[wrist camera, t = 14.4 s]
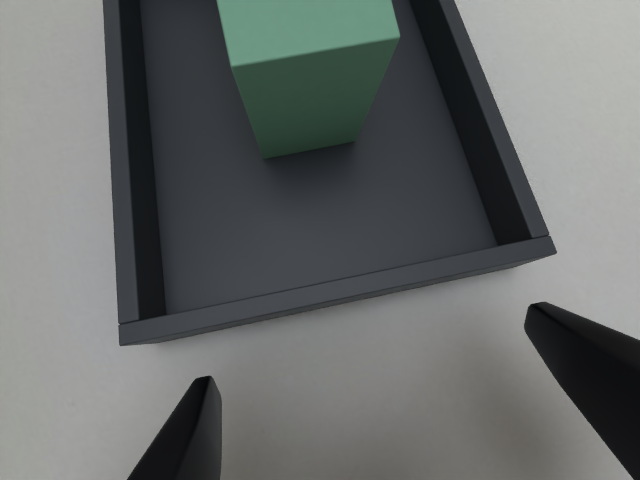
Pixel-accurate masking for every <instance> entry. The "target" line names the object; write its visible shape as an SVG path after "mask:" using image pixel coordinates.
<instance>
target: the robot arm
mask: <svg viewBox="0 0 640 480" xmlns="http://www.w3.org/2000/svg"><path fill="white" fill-rule="evenodd" d="M524 329H525V332H526V334H527V336H528V337H529V339H530V340H531V342H532V343H533V345H534V347H535V348H536V350H537V351H538V353H539V354H540V356H541V357H542V359H543V361H544V362H545V364H546V365H547V367H548V368H549V370H550V371H551V373H552V375H553V376H554V377H555V379H556V380H557V382H558V383H559V385H560V386H561V387H562V389H563V390H564V391H565V392H566V394H567V395H568V396H569V398H570V399H571V400H572V401H573V403H574V404H575V405H576V407H577V408H578V409H579V410H580V412H581V413H582V414H583V415H584V417H585V418H586V419H587V421H588V422H589V423H590V424H591V426H592V427H593V428H594V429H595V431H596V432H597V433H598V435H599V436H600V437H601V438H602V440H603V441H604V442H605V444H606V445H607V446H608V447H609V449H610V450H611V451H612V452H613V454H614V455H615V456H616V458H617V459H618V460H619V461H620V463H621V464H622V465H623V466H624V468H625V469H626V470H627V472H628V473H629V474H630V475H631V477H632V478H633V479H634V480H640V340H638V339H635V338H633V337H630V336H628V335H625V334H623V333H621V332H618V331H616V330H613V329H611V328H608V327H606V326H603V325H601V324H599V323H596V322H594V321H591V320H589V319H586V318H584V317H581V316H579V315H577V314H574V313H572V312H569V311H567V310H564V309H562V308H559V307H557V306H555V305H552V304H550V303H547V302H540V303H535V304H531V305H530V306H529V307H528V310H527V315H526V319H525V323H524ZM221 460H222V400H221V395H220V392H219V390H218V388H217V386H216V384H215V381H214V379H213V378H212V376H205V377H200V378H197V379H195V380H194V381H193V383H192V384H191V386H190V387H189V389H188V390H187V392H186V393H185V394H184V396H183V397H182V399H181V400H180V402H179V403H178V405H177V406H176V408H175V409H174V411H173V412H172V414H171V415H170V417H169V418H168V420H167V421H166V422H165V424H164V425H163V427H162V428H161V430H160V431H159V433H158V434H157V436H156V437H155V439H154V440H153V442H152V443H151V445H150V446H149V448H148V449H147V451H146V452H145V453H144V455H143V456H142V458H141V459H140V461H139V462H138V464H137V465H136V467H135V468H134V470H133V471H132V473H131V474H130V476H129V477H128V479H127V480H220V475H221Z"/></svg>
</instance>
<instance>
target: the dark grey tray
mask: <svg viewBox="0 0 640 480" xmlns="http://www.w3.org/2000/svg"><path fill="white" fill-rule="evenodd" d="M391 1H392V5H393V9H394V13H395V17H396V21H397V25H398V29H399V33H400V39H399V41H398V43H397V46H396V48H395V50H394V53H393V55H392V57H391V60H390V62H389V64H388V67H387V69H386V71H385V74H384V76H383V78H382V81H381V83H380V85H379V88H378V90H377V92H376V95H375V97H374V99H373V102H372V104H371V106H370V109H369V111H368V113H367V116H366V118H365V120H364V123H363V125H362V128H361V130H360V132H359V135H358V137H357V139H356V141H354V142H349V143H344V144H339V145H334V146H329V147H323V148H318V149H313V150H308V151H303V152H298V153H293V154H288V155H283V156H278V157H273V158H268V159H263V157H262V154H261V151H260V149H259V146H258V143H257V140H256V137H255V134H254V132H253V129H252V126H251V123H250V120H249V117H248V114H247V112H246V109H245V106H244V103H243V100H242V97H241V95H240V92H239V89H238V86H237V83H236V80H235V77H234V75H233V72H232V69H231V66H230V61H229V57H228V52H227V47H226V43H225V38H224V33H223V29H222V24H221V19H220V15H219V10H218V5H217V1H216V0H103V13H104V34H105V54H106V75H107V96H108V117H109V137H110V158H111V179H112V199H113V220H114V241H115V262H116V282H117V303H118V323H119V324H120V325H119V345H120V346H128V345H141V344H152V343H160V342H165V341H170V340H174V339H179V338H184V337H188V336H193V335H198V334H203V333H207V332H212V331H217V330H221V329H226V328H231V327H235V326H240V325H245V324H250V323H254V322H259V321H264V320H268V319H273V318H278V317H282V316H287V315H292V314H296V313H301V312H306V311H311V310H315V309H320V308H325V307H329V306H334V305H339V304H343V303H348V302H353V301H358V300H362V299H367V298H372V297H376V296H381V295H386V294H390V293H395V292H400V291H405V290H409V289H414V288H419V287H423V286H428V285H433V284H437V283H442V282H447V281H451V280H456V279H461V278H466V277H470V276H475V275H480V274H484V273H489V272H494V271H498V270H503V269H508V268H513V267H516V266H520V265H523V264H526V263H529V262H532V261H535V260H538V259H541V258H545V257H548V256H551V255H554V254H556V253H557V251H556V248H555V246H554V244H553V241H552V239H551V236H548V235H549V232H548V229H547V227H546V224H545V222H544V219H543V217H542V214H541V212H540V210H539V207H538V205H537V202H536V200H535V197H534V195H533V192H532V190H531V187H530V185H529V183H528V180H527V178H526V175H525V173H524V170H523V168H522V165H521V163H520V161H519V158H518V156H517V153H516V151H515V148H514V146H513V143H512V141H511V139H510V136H509V134H508V131H507V129H506V126H505V124H504V121H503V119H502V116H501V114H500V112H499V109H498V107H497V104H496V102H495V99H494V97H493V94H492V92H491V90H490V87H489V85H488V82H487V80H486V77H485V75H484V72H483V70H482V67H481V65H480V63H479V60H478V58H477V55H476V53H475V50H474V48H473V45H472V43H471V41H470V38H469V36H468V33H467V31H466V28H465V26H464V23H463V21H462V18H461V16H460V14H459V11H458V9H457V6H456V4H455V1H454V0H391Z"/></svg>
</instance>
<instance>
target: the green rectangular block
mask: <svg viewBox="0 0 640 480" xmlns="http://www.w3.org/2000/svg"><path fill="white" fill-rule="evenodd" d="M216 1H217V5H218V10H219V15H220V19H221V24H222V29H223V33H224V38H225V43H226V47H227V52H228V57H229V61H230V66H231V69H232V72H233V75H234V77H235V80H236V83H237V86H238V89H239V92H240V95H241V97H242V100H243V103H244V106H245V109H246V112H247V114H248V117H249V120H250V123H251V126H252V129H253V132H254V134H255V137H256V140H257V143H258V146H259V149H260V151H261V154H262V157H263V159H268V158H273V157H278V156H283V155H288V154H293V153H298V152H303V151H308V150H313V149H318V148H323V147H329V146H334V145H339V144H344V143H349V142H354V141H356V139H357V137H358V135H359V132H360V130H361V128H362V125H363V123H364V120H365V118H366V116H367V113H368V111H369V109H370V106H371V104H372V102H373V99H374V97H375V95H376V92H377V90H378V88H379V85H380V83H381V81H382V78H383V76H384V74H385V71H386V69H387V67H388V64H389V62H390V60H391V57H392V55H393V53H394V50H395V48H396V46H397V43H398V41H399V39H400V33H399V29H398V25H397V21H396V17H395V13H394V9H393V5H392V1H391V0H216Z"/></svg>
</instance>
